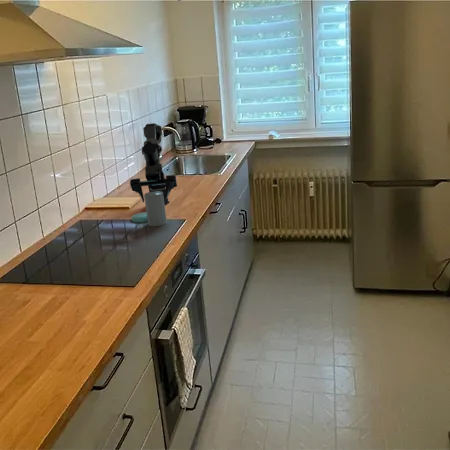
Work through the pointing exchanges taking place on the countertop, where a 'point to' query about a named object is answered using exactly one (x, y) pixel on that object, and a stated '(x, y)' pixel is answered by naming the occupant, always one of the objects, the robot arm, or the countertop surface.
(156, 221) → the grey faceted cylinder
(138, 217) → the dish
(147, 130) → the robot arm
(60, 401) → the countertop surface
